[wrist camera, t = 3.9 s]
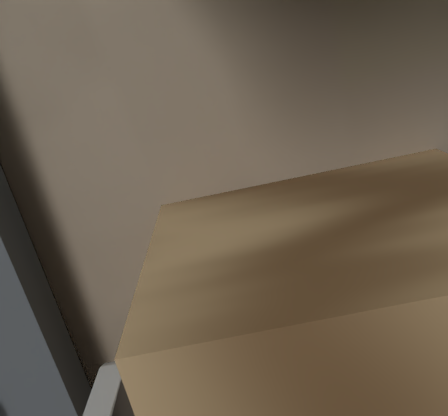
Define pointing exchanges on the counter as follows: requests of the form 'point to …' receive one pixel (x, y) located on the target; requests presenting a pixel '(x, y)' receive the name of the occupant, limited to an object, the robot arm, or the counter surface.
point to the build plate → (32, 330)
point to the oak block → (297, 298)
